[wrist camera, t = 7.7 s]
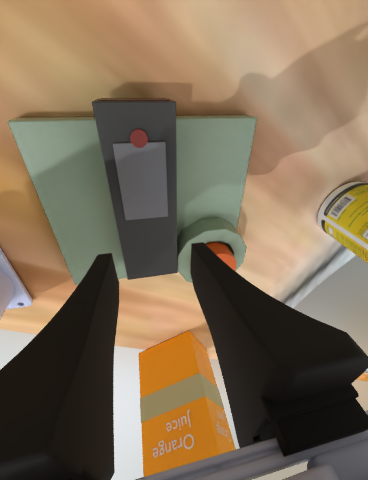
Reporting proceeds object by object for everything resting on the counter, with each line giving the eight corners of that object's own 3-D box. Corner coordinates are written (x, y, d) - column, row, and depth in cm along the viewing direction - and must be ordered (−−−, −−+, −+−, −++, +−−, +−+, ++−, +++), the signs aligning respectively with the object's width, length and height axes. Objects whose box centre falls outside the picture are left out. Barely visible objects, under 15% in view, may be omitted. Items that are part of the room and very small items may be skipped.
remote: (173, 256, 21) (178, 274, 19) (127, 261, 21) (127, 281, 18) (169, 98, 14) (176, 100, 12) (96, 97, 13) (90, 100, 11)
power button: (191, 273, 21) (196, 286, 20) (193, 243, 19) (198, 256, 17) (226, 268, 22) (233, 281, 20) (232, 239, 19) (239, 251, 18)
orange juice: (137, 353, 33) (146, 601, 17) (189, 329, 32) (248, 567, 16) (161, 369, 38) (186, 576, 22) (207, 349, 37) (266, 549, 21)
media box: (78, 277, 22) (71, 304, 20) (16, 117, 14) (-11, 126, 11) (227, 257, 25) (239, 279, 22) (251, 114, 17) (275, 121, 14)
